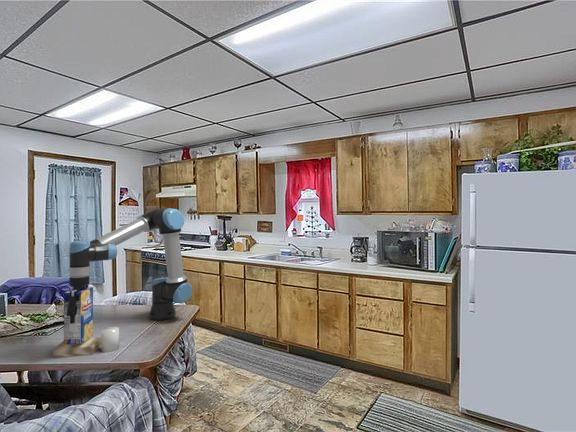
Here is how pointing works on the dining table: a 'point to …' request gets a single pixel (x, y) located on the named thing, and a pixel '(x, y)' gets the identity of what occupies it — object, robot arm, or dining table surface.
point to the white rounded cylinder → (110, 339)
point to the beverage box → (79, 317)
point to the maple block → (77, 348)
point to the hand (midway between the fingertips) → (78, 326)
